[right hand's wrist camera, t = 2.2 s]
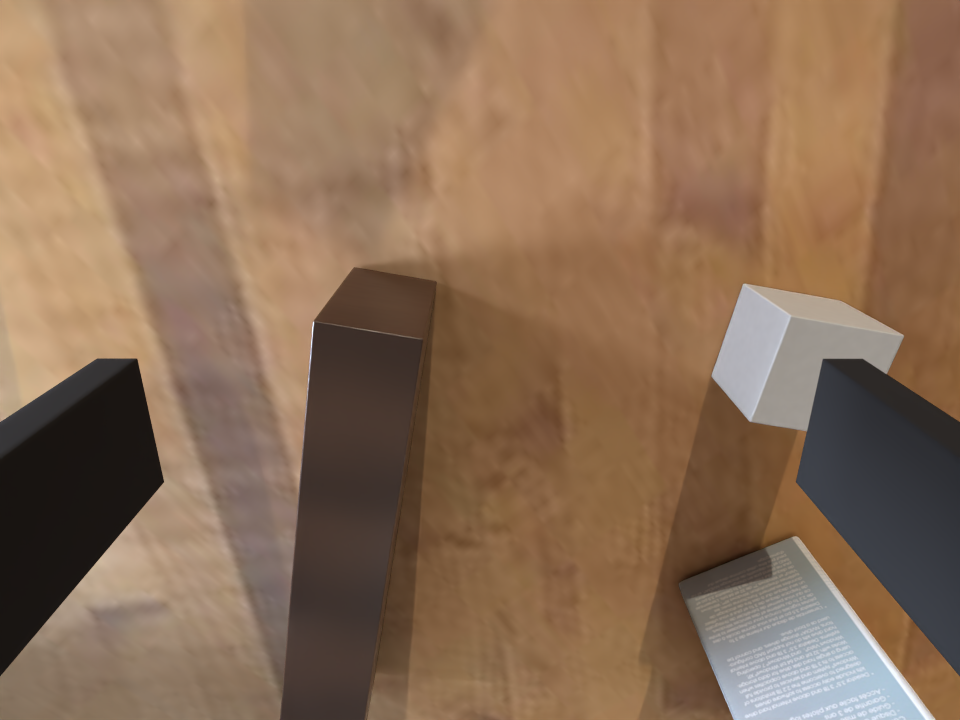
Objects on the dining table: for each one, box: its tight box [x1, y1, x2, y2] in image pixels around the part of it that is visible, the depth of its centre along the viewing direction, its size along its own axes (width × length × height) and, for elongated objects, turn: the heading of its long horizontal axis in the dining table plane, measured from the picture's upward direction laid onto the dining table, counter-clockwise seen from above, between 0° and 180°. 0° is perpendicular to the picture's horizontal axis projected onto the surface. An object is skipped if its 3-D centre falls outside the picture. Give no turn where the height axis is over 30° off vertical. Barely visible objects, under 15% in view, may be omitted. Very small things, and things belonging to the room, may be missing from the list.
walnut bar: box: [280, 267, 437, 720], centre depth 31 cm, size 26×4×8 cm, turn 170°
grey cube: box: [712, 284, 904, 431], centre depth 29 cm, size 5×5×5 cm
